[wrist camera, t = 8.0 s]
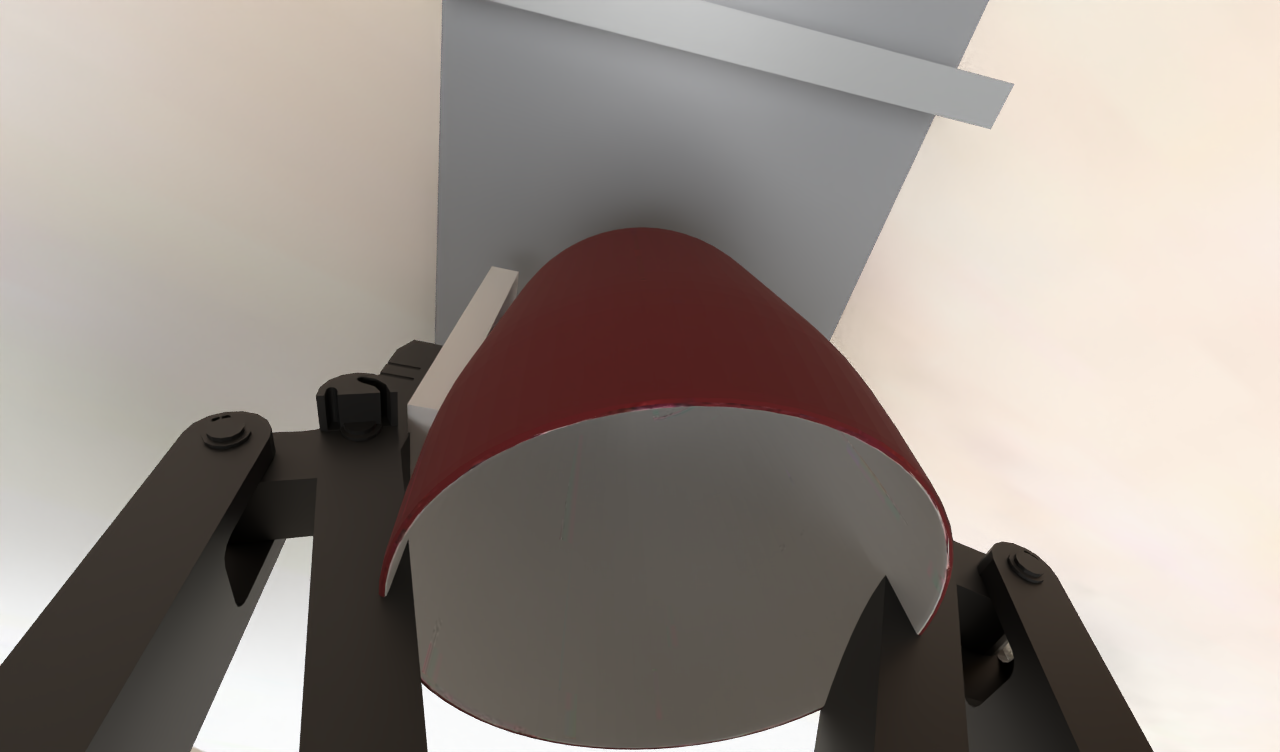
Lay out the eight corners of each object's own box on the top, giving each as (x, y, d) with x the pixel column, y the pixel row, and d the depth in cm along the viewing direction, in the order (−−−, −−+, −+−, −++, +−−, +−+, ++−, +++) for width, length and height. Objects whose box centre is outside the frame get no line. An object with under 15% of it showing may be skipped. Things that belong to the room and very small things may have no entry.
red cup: (800, 431, 19) (949, 754, 11) (579, 489, 20) (568, 827, 12) (744, 113, 14) (970, 302, 5) (438, 215, 15) (229, 508, 6)
